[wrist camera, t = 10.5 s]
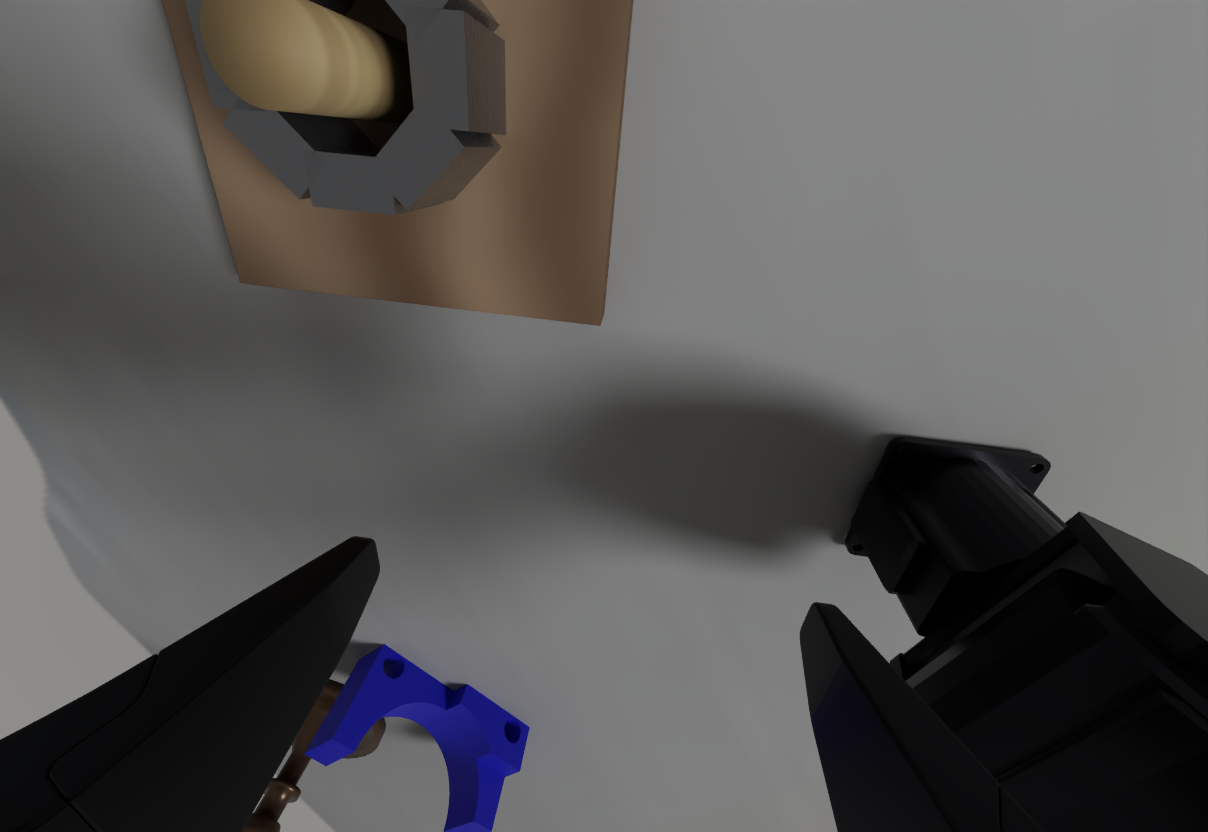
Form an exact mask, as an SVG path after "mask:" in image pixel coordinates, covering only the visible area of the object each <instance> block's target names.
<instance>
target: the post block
mask: <svg viewBox="0 0 1208 832" xmlns="http://www.w3.org/2000/svg"><path fill="white" fill-rule="evenodd" d="M162 2H163V5H164V9H165V12H166V16H167V20H168V23H169V27H170V30H171V34H172V38H173V41H174V45H175V48H176V52H177V56H178V59H179V63H180V66H181V70H182V74H183V77H184V81H185V84H186V88H187V92H188V95H189V99H190V103H191V106H192V110H193V113H194V117H195V121H196V124H197V128H198V131H199V135H200V139H201V142H202V146H203V149H204V153H205V157H206V160H207V164H208V167H209V171H210V175H211V178H212V182H213V185H214V189H215V193H216V196H217V200H218V203H219V207H220V211H221V214H222V218H223V221H224V225H225V229H226V232H227V236H228V240H229V243H230V247H231V250H232V254H233V258H234V261H235V265H236V268H237V272H238V276H239V279H240V283H244V284H253V285H261V286H270V287H278V288H286V289H295V290H303V291H312V292H320V293H329V294H337V295H345V296H354V297H362V298H371V299H379V300H388V301H396V302H404V303H413V304H421V305H430V306H438V307H446V308H455V309H463V310H472V311H480V312H489V313H497V314H505V315H514V316H522V317H531V318H539V319H548V320H556V321H564V322H573V323H581V324H590V325H598V326H600V325H601V322H602V319H603V316H604V309H605V298H606V287H607V277H608V266H609V255H610V244H611V234H612V223H613V212H614V201H615V191H616V180H617V169H618V158H619V148H620V137H621V126H622V115H623V105H624V94H625V83H626V73H627V62H628V51H629V40H630V30H631V19H632V8H633V0H482V2H483V3H484V5H485V6H486V7H487V9H488V10H489V11H490V13H491V14H492V15H493V17H494V18H495V19H496V21H497V22H498V23H499V27H498V28H497V29H496V30H495V31H494V33H495V34H496V35H498V36H499V37H500V38H502V39H503V40H505V81H506V135H500V134H491V135H492V136H493V137H494V138H495V140H496V141H497V142H498V143H499V144H500V146H501V147H502V148H501V149H500V150H499V151H498V152H497V153H496V154H495V155H494V156H493V158H492V159H491V160H490V161H489V162H488V163H487V164H486V165H485V166H484V167H483V168H482V169H481V171H480V172H479V173H478V174H477V175H476V176H475V177H474V178H473V179H472V180H471V181H470V182H469V184H468V185H467V186H466V187H465V188H464V189H463V190H462V191H461V192H460V193H459V194H458V195H457V197H456V198H455V199H454V200H450V201H446V202H444V203H442V204H438V205H435V206H431V207H427V208H423V209H419V210H415V211H411V212H407V213H403V214H399V215H389V214H379V213H370V212H360V211H350V210H341V209H331V208H322V207H313V206H312V201H311V198H307V199H300V200H299V199H298V198H297V197H296V196H295V195H294V194H293V193H292V192H291V191H290V190H289V189H288V188H287V187H286V186H285V185H284V184H283V183H282V182H281V181H280V180H279V179H278V178H277V177H276V176H275V175H274V174H273V173H272V172H271V171H270V170H269V169H268V168H267V167H266V166H265V165H264V164H263V163H262V162H261V161H260V160H259V159H258V158H257V157H256V156H255V155H254V154H253V153H252V152H251V151H250V150H249V149H248V148H247V147H246V146H245V145H244V144H243V143H242V142H241V141H240V140H239V139H238V138H237V137H236V136H235V135H234V134H233V133H232V132H231V131H230V130H229V129H228V128H227V127H226V126H225V125H224V124H223V122H224V120H225V118H226V117H227V115H228V113H229V112H230V110H231V108H221V107H213V105H212V101H211V97H210V94H209V90H208V86H207V82H206V79H205V75H204V71H203V67H202V63H201V60H200V56H199V52H198V48H197V44H196V41H195V37H194V33H193V29H192V26H191V22H190V18H189V14H188V10H187V7H186V3H185V0H162ZM200 32H201V37H202V41H203V44H204V48H205V51H206V53H207V55H208V58H209V60H210V62H211V64H212V66H213V68H214V69H215V71H216V72H217V74H218V75H219V77H220V78H221V79H222V81H223V82H224V83H225V84H226V85H227V87H228V88H229V89H230V90H231V91H232V92H233V93H235V94H236V95H237V96H238V97H240V98H241V99H242V100H244V101H245V102H247V103H249V104H251V105H253V106H255V107H258V108H261V109H266V110H274V111H284V112H293V113H303V114H313V115H322V116H332V117H342V118H351V119H352V120H353V121H354V122H355V123H356V124H357V126H358V127H359V128H360V129H361V130H362V131H363V132H364V133H365V134H366V136H367V137H368V138H369V139H370V140H371V141H372V142H373V143H374V144H375V145H376V147H377V148H378V149H379V150H380V151H381V149H382V148H383V147H384V146H385V144H386V143H387V142H388V141H389V139H390V138H391V137H392V136H393V134H394V133H395V132H396V131H397V129H398V128H399V127H400V126H401V124H402V123H403V122H404V121H405V119H406V118H407V117H408V116H409V114H410V113H411V112H412V111H413V109H414V107H413V96H412V85H411V74H410V63H409V53H408V42H407V31H406V25H405V24H404V23H403V22H402V20H401V19H400V18H399V17H398V15H397V14H396V13H395V12H394V11H393V9H392V8H391V7H390V6H389V4H388V3H387V2H386V1H385V0H356V1H355V3H354V4H353V6H352V7H351V9H350V10H349V12H348V13H347V15H346V16H344V15H341V14H339V13H337V12H334V11H332V10H330V9H327V8H325V7H323V6H320V5H318V4H316V3H313V2H311V1H309V0H202V2H201V6H200Z"/></svg>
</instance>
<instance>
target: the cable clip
mask: <svg viewBox="0 0 1208 832" xmlns="http://www.w3.org/2000/svg"><path fill="white" fill-rule="evenodd" d="M391 716H392V717H403V718H407V719H410V720H413V721H415V722H417V723H418V724H420V725H422V726H423V727H424V728H425V729H426V730H427V731H428V732H429V733H430V734H431V735H432V736H433V737H434V739H435V740H436V742H437V743H438V745H439V747H440V749H441V751H442V753H443V756H444V759H445V762H446V766H447V770H448V776H449V790H450V796H449V808H448V815H447V820H446V824H445V828H444V831H443V832H491V831H492V828H493V823H494V819H495V815H496V811H497V807H498V803H499V799H500V795H501V790H502V786H503V782H504V778H505V777H506V776H509V775H511V774H514V773H517V772H519V771H520V768H521V764H522V759H523V754H524V750H525V745H526V741H527V736H528V732H529V727H528V726H527V725H525V724H524V723H523V722H521V721H520V720H518V719H517V718H515V717H514V716H513V715H511V714H510V713H508V712H507V711H505V710H504V709H502V708H501V707H500V706H498V705H497V704H495V703H494V702H492V701H491V700H490V699H488V698H487V697H485V696H484V695H482V694H481V693H479V692H478V691H477V690H475V689H474V688H472V687H471V686H469V685H468V684H467V685H465V686H463V687H461V688H459V689H457V690H455V691H452V690H451V689H449V688H448V687H446V686H445V685H444V684H442V683H441V682H439V681H438V680H436V679H435V678H433V677H432V676H430V675H429V674H427V673H426V672H424V671H423V670H422V669H420V668H419V667H417V666H416V665H414V664H413V663H411V662H410V661H408V660H407V659H405V658H404V657H402V656H401V655H400V654H398V653H397V652H395V651H394V650H392V649H391V648H389V647H388V646H386V645H385V644H384V645H382V646H381V647H379V648H377V649H376V650H374V651H373V652H371V653H369V654H368V655H366V656H365V657H363V658H361V659H360V660H359V661H358V662H357V664H356V666H355V667H354V669H353V671H352V673H351V674H350V676H349V678H348V680H347V681H346V683H345V685H344V686H343V688H342V690H341V692H340V693H339V695H338V697H337V698H336V700H335V702H334V704H333V705H332V707H331V709H330V710H329V712H328V714H327V716H326V717H325V719H324V721H323V722H322V724H321V726H320V728H319V729H318V731H317V733H316V734H315V736H314V738H313V740H312V741H311V743H310V745H309V746H308V748H307V750H306V752H305V753H304V754H305V755H307V756H309V757H310V758H312V759H314V760H316V761H318V762H319V763H321V764H323V765H325V766H327V765H329V764H331V763H333V762H335V761H337V760H339V759H341V758H343V757H345V756H347V755H349V754H351V753H353V752H355V750H356V748H357V747H358V745H359V743H360V741H361V740H362V738H363V737H364V735H365V734H366V733H367V732H368V730H369V729H370V728H371V727H372V726H373V725H374V724H375V723H376V722H377V721H378V720H379V719H380V718H383V717H391Z"/></svg>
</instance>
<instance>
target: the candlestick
mask: <svg viewBox="0 0 1208 832" xmlns="http://www.w3.org/2000/svg"><path fill="white" fill-rule="evenodd" d="M343 686H344V685H343V684H340V683H338V682H335V681H332V680H328V682H327V684H326V685H325V687H324V689H323V691H322V692H321V694H320V696H319V697H318V699H317V701H316V703H315V704H314V706H313V708H312V710H311V711H310V713H309V715H308V717H307V718H306V720H305V722H304V724H303V725H302V727H301V729H300V731H299V732H298V734H297V736H296V738H295V739H294V741H293V743H292V753H291V755H290V756H289V758H288V760H287V761H286V763H285V765H284V766H283V768H282V770H281V771H280V773H279V775H278V776H277V778H272V780H271V781H270V783H269V785H268V787H267V788H266V790H265V792H264V794H265V795H264V797H263V799H262V800H261V802H260V804H259V805H258V807H257V808H256V810H255V812H254V813H252V814H251V816H250V818H249V820H248V821H247V823H246V825H245V827H244V828H243V830H242V832H280V824H279V823H278V822H277V821H278V819H279V817H280V815H281V814H282V812H283V810H284V808H285V807H286V805H287V803H291V802H295V801H297V799H298V797H299V796H300V794H301V791H300V789H299V788H298V787H297V786H296V784H297V783H298V781H299V779H300V777H301V776H302V774H303V772H304V770H305V769H306V767H307V765H308V763H309V761H310V760H311V759H312V758H310V757H309V756H307V755H305V754H304V753H305V752H306V750H307V748H308V746H309V745H310V743H311V741H312V740H313V738H314V736H315V734H316V733H317V731H318V729H319V728H320V726H321V724H322V722H323V721H324V719H325V717H326V716H327V714H328V712H329V710H330V709H331V707H332V705H333V704H334V702H335V700H336V698H337V697H338V695H339V693H340V692H341V690H342V688H343ZM385 727H386V724H385V720H384V717H383V718H380V719H379V720H378V721H377V722H376V723H375V724H374V725H373V726H372V727H371V728H370V729H369V730H368V732H367V733H366V734H365V735H364V737H363V738H362V740H361V741H360V743H359V745H358V747H357V748H356V750H355V752H353V753H351V754H349V755H347V756H345V757H343V758H358V757H362V756H366V755H368V754H370V753H372V752H373V751H374V750H375V749H376V748H377V747H378V745H379V743H380V741H381V738H382V736H383V734H384V732H385Z"/></svg>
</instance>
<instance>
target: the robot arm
mask: <svg viewBox="0 0 1208 832" xmlns="http://www.w3.org/2000/svg"><path fill="white" fill-rule="evenodd" d="M902 447H906V448H905V449H904V450H903V451H901V452H898V450H899V449H900V448H902ZM1033 465H1035V466H1034V467H1032V466H1033ZM1031 467H1032V468H1031ZM1050 467H1051V465H1050V462H1049V461H1048V460H1047V459H1045V458H1044V457H1043V456H1042V455H1039V454H1035V453H1027V452H1019V451H1011V450H1003V449H995V448H987V447H979V446H971V445H963V444H955V443H947V442H939V441H931V440H923V439H915V438H907V437H899V438H896V439H894V440H892V441H891V442H890V443H889V445H888V446H887V448H886V451H885V453H884V455H883V457H882V460H881V462H880V464H879V466H878V468H877V471H876V473H875V475H874V477H873V479H872V480H871V481H870V482H869V483H868V485H867V487H866V490H865V492H864V494H863V496H862V498H861V501H860V503H859V505H858V507H857V510H856V512H855V514H854V516H853V519H852V521H851V525H852V526H851V528H850V530H849V533H848V535H847V537H846V539H845V545H846V547H847V550H848V552H849V553H851V554H853V555H859V556H866V557H868V558H869V559H870V561H871V563H872V565H873V567H874V569H875V571H876V573H877V575H878V577H879V579H880V581H881V582H882V584H883V586H884V588H885V589H886V590H887V592H888V593H891V594H896V595H897V596H898V598H899V600H900V602H901V604H902V606H903V608H904V609H905V611H906V613H907V615H908V617H909V619H910V620H911V622H912V624H913V626H914V628H915V630H916V632H917V633H918V634H919V635H920V636H924V637H925V638H923V639H922V640H921V641H920V642H918V643H917V644H916V645H914V646H913V647H912V648H911V649H909V650H908V651H907V652H906V653H904V654H903V653H900V654H898V655H897V656H896V657H894V658H893V659H892V660H891V661H890V664H889V663H888V662H887V661H886V659H885V658H884V657H883V656H882V655H881V654H880V653H879V652H878V651H877V650H876V649H875V647H874V646H873V645H872V644H871V643H870V642H869V641H868V640H867V639H866V638H865V637H864V636H863V634H862V633H861V632H860V631H859V630H858V629H857V628H856V627H855V626H854V625H853V624H852V623H851V621H850V620H849V619H848V618H847V617H846V616H845V615H844V614H843V613H842V612H841V611H840V609H839V608H837V607H836V606H835V605H832V604H825V603H818V602H815V603H813V604H812V605H811V607H810V609H809V611H808V613H807V615H806V618H805V620H804V622H803V624H802V627H801V630H800V645H801V652H802V660H803V667H804V675H805V682H806V689H807V697H808V704H809V711H810V717H811V722H812V727H813V731H814V736H815V740H816V744H817V748H818V752H819V756H820V760H821V765H822V769H823V773H824V777H825V781H826V785H827V789H828V793H829V798H830V802H831V806H832V810H833V814H834V818H835V822H836V826H837V831H838V832H1208V575H1207V574H1205V573H1204V572H1202V571H1201V570H1200V569H1198V568H1197V567H1195V566H1194V565H1192V564H1190V563H1188V562H1186V561H1184V560H1182V559H1180V558H1178V557H1176V556H1174V555H1172V554H1169V553H1167V552H1165V551H1163V550H1161V549H1159V548H1157V547H1155V546H1152V545H1150V544H1148V543H1146V542H1144V541H1142V540H1140V539H1138V538H1135V537H1133V536H1131V535H1129V534H1127V533H1125V532H1123V531H1121V530H1118V529H1116V528H1114V527H1112V526H1110V525H1108V524H1106V523H1104V522H1101V521H1099V520H1097V519H1095V518H1093V517H1091V516H1089V515H1087V514H1084V513H1082V512H1078V513H1077V514H1076V515H1074V516H1073V517H1072V518H1071V519H1069V520H1068V521H1067V522H1066V523H1064V522H1063V521H1062V520H1061V519H1060V518H1059V517H1058V516H1057V515H1056V514H1054V513H1053V512H1052V511H1051V510H1050V509H1049V508H1048V507H1047V506H1046V505H1045V504H1044V503H1042V502H1041V501H1040V500H1039V499H1038V498H1037V497H1036V496H1035V495H1034V492H1035V491H1036V489H1037V488H1038V486H1039V485H1040V483H1041V482H1042V480H1043V479H1044V477H1045V476H1046V474H1047V473H1048V471H1049V470H1050ZM859 543H860V544H859ZM855 544H858V545H855ZM379 572H380V564H379V559H378V553H377V548H376V543H375V541H374V540H373V539H371V538H365V537H358V536H354V537H351V538H349V539H347V540H346V541H344V542H342V543H341V544H339V545H337V546H336V547H334V548H332V549H331V550H329V551H327V552H326V553H324V554H322V555H320V556H319V557H317V558H315V559H314V560H312V561H310V562H309V563H307V564H305V565H304V566H302V567H300V568H299V569H297V570H295V571H294V572H292V573H290V574H289V575H287V576H285V577H284V578H282V579H280V580H279V581H277V582H275V583H273V584H272V585H270V586H268V587H267V588H265V589H263V590H262V591H260V592H258V593H257V594H255V595H253V596H252V597H250V598H248V599H247V600H245V601H243V602H242V603H240V604H238V605H237V606H235V607H233V608H232V609H230V610H228V611H226V612H225V613H223V614H221V615H220V616H218V617H216V618H215V619H213V620H211V621H210V622H208V623H206V624H205V625H203V626H201V627H200V628H198V629H196V630H195V631H193V632H191V633H190V634H188V635H186V636H185V637H183V638H181V639H179V640H178V641H176V642H174V643H173V644H171V645H169V646H168V647H166V648H164V649H163V650H161V651H160V652H159V654H154V655H152V656H151V657H149V658H147V659H146V660H144V661H142V662H141V663H139V664H137V665H136V666H134V667H132V668H131V669H129V670H127V671H125V672H124V673H122V674H120V675H118V676H117V677H115V678H113V679H112V680H110V681H108V682H106V683H105V684H103V685H101V686H100V687H98V688H96V689H94V690H93V691H91V692H89V693H87V694H85V695H84V696H82V697H80V698H78V699H76V700H74V701H73V702H70V703H69V704H67V705H65V706H63V707H61V708H59V709H58V710H56V711H54V712H52V713H50V714H49V715H47V716H45V717H43V718H41V719H39V720H37V721H35V722H33V723H31V724H30V725H28V726H26V727H24V728H22V729H20V730H18V731H16V732H14V733H12V734H10V735H9V736H7V737H5V738H3V739H1V740H0V832H242V830H243V828H244V827H245V825H246V823H247V821H248V820H249V818H250V816H251V814H252V813H253V811H254V809H255V808H256V806H257V804H258V802H259V800H260V799H261V797H262V795H263V794H264V792H265V790H266V788H267V787H268V785H269V783H270V781H271V780H272V778H273V776H274V774H275V773H276V771H277V769H278V767H279V766H280V764H281V762H282V760H283V759H284V757H285V755H286V753H287V752H288V750H289V748H290V746H291V745H292V743H293V741H294V739H295V738H296V736H297V734H298V732H299V731H300V729H301V727H302V725H303V724H304V722H305V720H306V718H307V717H308V715H309V713H310V711H311V710H312V708H313V706H314V704H315V703H316V701H317V699H318V697H319V696H320V694H321V692H322V691H323V689H324V687H325V685H326V684H327V682H328V680H329V678H330V677H331V675H332V673H333V671H334V670H335V668H336V666H337V664H338V663H339V661H340V659H341V657H342V655H343V653H344V652H345V650H346V648H347V646H348V644H349V642H350V640H351V637H352V635H353V633H354V631H355V629H356V626H357V624H358V622H359V620H360V617H361V615H362V613H363V611H364V608H365V606H366V604H367V602H368V599H369V597H370V595H371V593H372V590H373V588H374V586H375V584H376V581H377V579H378V576H379Z"/></svg>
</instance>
